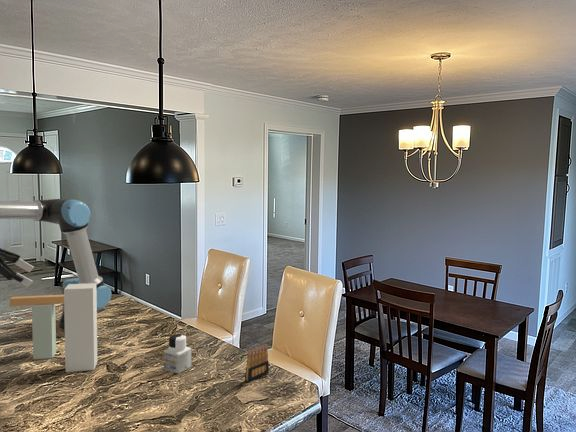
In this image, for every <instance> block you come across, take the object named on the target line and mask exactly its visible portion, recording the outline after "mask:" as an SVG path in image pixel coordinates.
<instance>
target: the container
mask: <svg viewBox="0 0 576 432" xmlns="http://www.w3.org/2000/svg"><path fill="white" fill-rule="evenodd" d="M191 367H192V347H189V346H187V336H186V335H185V334H181V333H175V334H172V335H170V336H169V338H168V348H166V349H163V370H164V371H168V372H172V373H174V374H178V375H179V374H180V373H182V372H184V371H186V370H188V369H189V368H191Z"/></svg>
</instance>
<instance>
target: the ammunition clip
mask: <svg viewBox="0 0 576 432" xmlns="http://www.w3.org/2000/svg"><path fill="white" fill-rule="evenodd" d="M246 356H247V357H246V366H245V374H244V375H245V377H244V378H245V379H244V381H245V380H246V381H245V382H247V381H248V383H250V382H252V381H254V380H253V379H255V380H257V379H259V378H261V377H263V376H262V375H264V376H265V374H266V375H268V374H269V372H270V369H269V368H270V365H269V364H270V363H269V362H270V360H269V352H268V344H267V343H265V344H264V343H263V344H262V345H261V346H260V345H258V347H257V346H255V347H254V348H253V347H252V348H251V350H250V349H248V351H247V355H246ZM267 373H268V374H267ZM260 376H261V377H260ZM258 377H259V378H258ZM256 378H257V379H256ZM251 380H252V381H251ZM249 381H250V382H249Z"/></svg>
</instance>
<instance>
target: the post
mask: <svg viewBox="0 0 576 432" xmlns="http://www.w3.org/2000/svg"><path fill="white" fill-rule="evenodd" d="M64 320H65V328H64V352H65V353H64V355H65V356H64V358H65V361H64V363H65V373H72V372H73V373H74V372H84V371H94V370H95V368H96V367H97V363H98V310H97V291H96V283H88V284H68V285H67V287H66V288H65V289H64Z"/></svg>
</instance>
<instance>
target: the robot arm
mask: <svg viewBox="0 0 576 432" xmlns="http://www.w3.org/2000/svg"><path fill="white" fill-rule="evenodd" d="M1 219H2V220H6V219H7V220H9V219H11V220H15V219H16V220H18V219H19V220H33V221H34V222H43V223H44V222H45V223H51V224H55V225H58V226H59V230H60V233H62V234H64V235H65V237H66V239H67V240H66V241H67V244H68V247H69V250H70V254H71V255H70V256H71V258H72V261H73V264H74V267H75V271H76V275H77V277H74V278H69V279H66V280H64V281H63V282H62V286H61V287H62V288H61V289H62V295H64V289H65V288H66V287H67V285H68V284H88V283H96V291H97V311H98V310H101V309H103V308H105V307H106V306H107V305H108V304H109V302H110V301H111V299H112V290H111V288H110V287H109V286H108V285H105V283H104V279H103V276H100V275H99V273H98V269H97V266H96V262H95V258H94V254H93V251H92V247H91V244H90V239H89V236H88V233H87V228H88V227H89V221H90V219H91V210H90V208H89V206H88V205H87V204H86V203H85V202H83V201H81V200H78V199H74V198H73V199H71V198H70V199H65V198H52V199H50V198H49V199H35V200H33V201H18V200H17V201H14V200H12V201H11V200H10V201H9V200H0V220H1ZM6 262H9V263H14V265H15V266H17V267H19V268H20V269H22V270H24V271H26V272H27V273H31V272H32V270H33V269H34V268H35V266H33V265H32V264H30V263H28V262H27V261H25V260H23V259H21V255H19V254H17V253H15V252H11V251H8V250H6V249H3V248H2V247H0V274H1V275H2V276H3V277H4V278H5V279H6V280H8V281H12V280H14V281H16V282H18V283H20V284H22V285H23V286H25V287H26V288H29V286H30V285H31V284H32V283H33V282H34V281H33V280H32V279H30V278H28V277H26V276H25V275H23V274H21V273H19V272H16V271H15V270H14V269H12V268H11V267H10V266H9V264H8V263H6ZM58 322H59V323H58V324H59V328H61V329H65V320H64V304H62V313H61V315H60V319H59V321H58Z"/></svg>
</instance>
